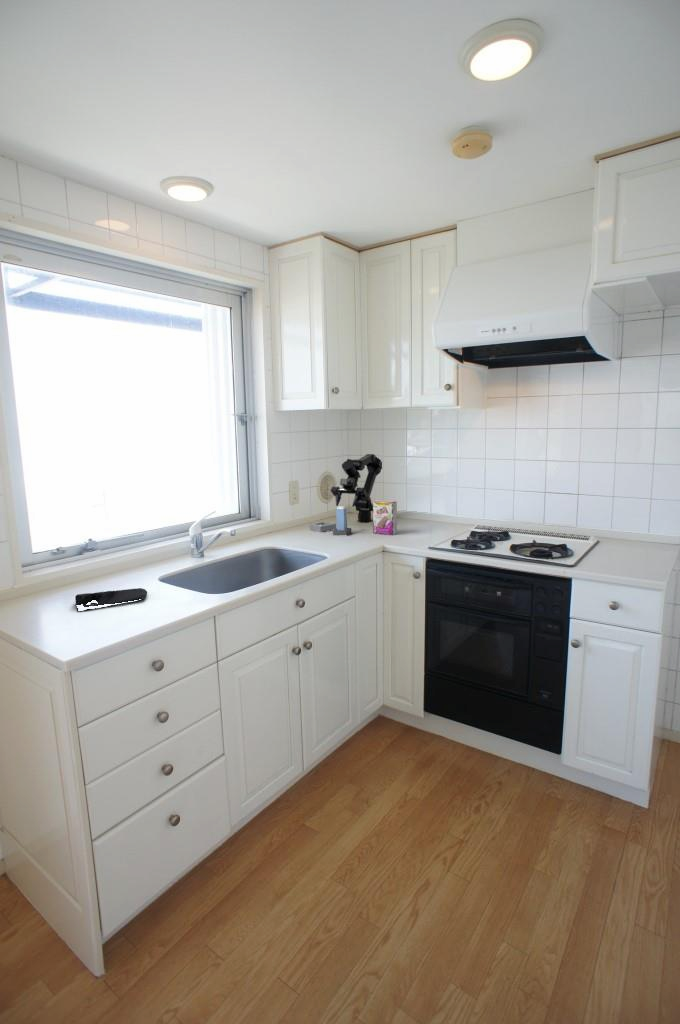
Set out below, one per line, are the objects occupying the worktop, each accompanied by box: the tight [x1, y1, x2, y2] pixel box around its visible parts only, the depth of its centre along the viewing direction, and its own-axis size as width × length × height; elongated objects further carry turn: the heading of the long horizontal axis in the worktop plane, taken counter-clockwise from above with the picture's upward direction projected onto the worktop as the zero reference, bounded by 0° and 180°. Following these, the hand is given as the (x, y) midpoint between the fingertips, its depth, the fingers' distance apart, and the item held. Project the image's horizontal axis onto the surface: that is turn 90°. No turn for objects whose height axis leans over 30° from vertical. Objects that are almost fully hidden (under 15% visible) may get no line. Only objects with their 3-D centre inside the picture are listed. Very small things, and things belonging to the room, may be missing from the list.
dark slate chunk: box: [74, 587, 148, 607], centre depth 178 cm, size 15×22×5 cm
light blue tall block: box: [335, 505, 348, 530], centre depth 267 cm, size 4×4×14 cm
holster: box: [332, 527, 352, 536], centre depth 268 cm, size 7×7×2 cm
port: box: [308, 520, 337, 533], centre depth 280 cm, size 10×10×4 cm
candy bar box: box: [372, 499, 398, 536], centre depth 264 cm, size 11×5×16 cm, turn 58°
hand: (344, 506), depth 274 cm, fingers open, 9 cm apart
